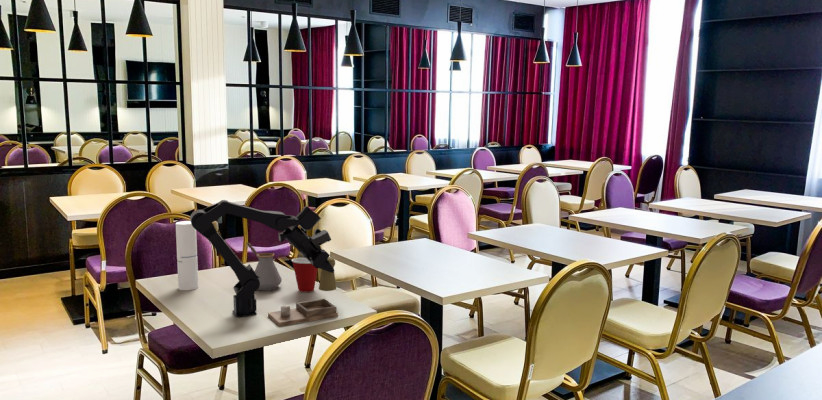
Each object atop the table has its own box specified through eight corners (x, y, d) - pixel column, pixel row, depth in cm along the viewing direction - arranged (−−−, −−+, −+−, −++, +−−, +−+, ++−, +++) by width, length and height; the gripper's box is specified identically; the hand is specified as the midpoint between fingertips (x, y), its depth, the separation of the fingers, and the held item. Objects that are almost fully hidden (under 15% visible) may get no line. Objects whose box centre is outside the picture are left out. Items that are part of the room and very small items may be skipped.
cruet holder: (279, 326, 197) (278, 313, 196) (268, 316, 206) (267, 303, 206) (337, 316, 207) (337, 304, 206) (324, 307, 216) (324, 295, 216)
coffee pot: (287, 288, 238) (286, 249, 236) (259, 293, 231) (258, 254, 229) (261, 276, 255) (260, 240, 252) (234, 281, 247) (233, 244, 245)
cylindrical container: (194, 290, 234) (191, 224, 231) (175, 290, 234) (172, 224, 231) (201, 285, 241) (198, 221, 238) (182, 284, 241) (179, 220, 238)
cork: (332, 291, 215) (332, 260, 214) (316, 290, 217) (316, 258, 215) (338, 287, 221) (339, 256, 219) (322, 285, 222) (322, 255, 221)
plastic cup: (325, 287, 240) (325, 256, 239) (313, 295, 230) (313, 263, 228) (299, 284, 243) (299, 254, 241) (286, 292, 233) (286, 261, 231)
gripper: (323, 227, 206) (355, 258, 211) (310, 218, 223) (340, 247, 228) (299, 253, 204) (332, 283, 209) (288, 241, 221) (318, 270, 226)
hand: (331, 269), depth 218 cm, fingers closed on cork, 5 cm apart
